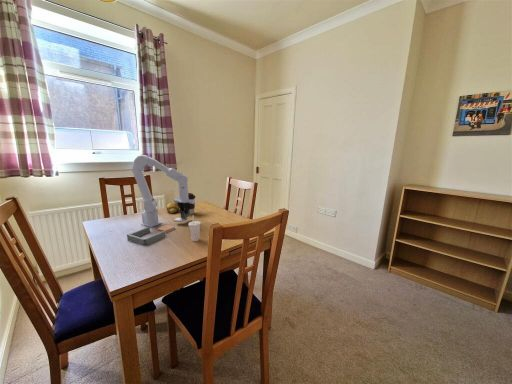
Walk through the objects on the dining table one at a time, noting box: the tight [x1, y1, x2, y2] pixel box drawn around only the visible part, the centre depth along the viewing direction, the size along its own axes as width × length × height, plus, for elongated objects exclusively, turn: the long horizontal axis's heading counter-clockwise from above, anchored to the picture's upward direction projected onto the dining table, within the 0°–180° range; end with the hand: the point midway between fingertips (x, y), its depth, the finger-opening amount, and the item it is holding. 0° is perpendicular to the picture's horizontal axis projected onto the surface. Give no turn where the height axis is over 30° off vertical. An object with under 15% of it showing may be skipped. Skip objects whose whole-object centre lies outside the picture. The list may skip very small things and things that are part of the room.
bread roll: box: [166, 201, 180, 214], centre depth 163 cm, size 13×10×8 cm
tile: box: [156, 224, 176, 234], centre depth 129 cm, size 7×7×2 cm
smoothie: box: [187, 214, 201, 242], centre depth 115 cm, size 6×6×14 cm
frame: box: [126, 226, 167, 246], centre depth 117 cm, size 14×13×3 cm
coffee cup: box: [184, 192, 196, 216], centre depth 159 cm, size 10×10×15 cm
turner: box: [173, 208, 191, 223], centre depth 141 cm, size 11×8×6 cm
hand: (184, 213), depth 142 cm, fingers closed on turner, 2 cm apart
